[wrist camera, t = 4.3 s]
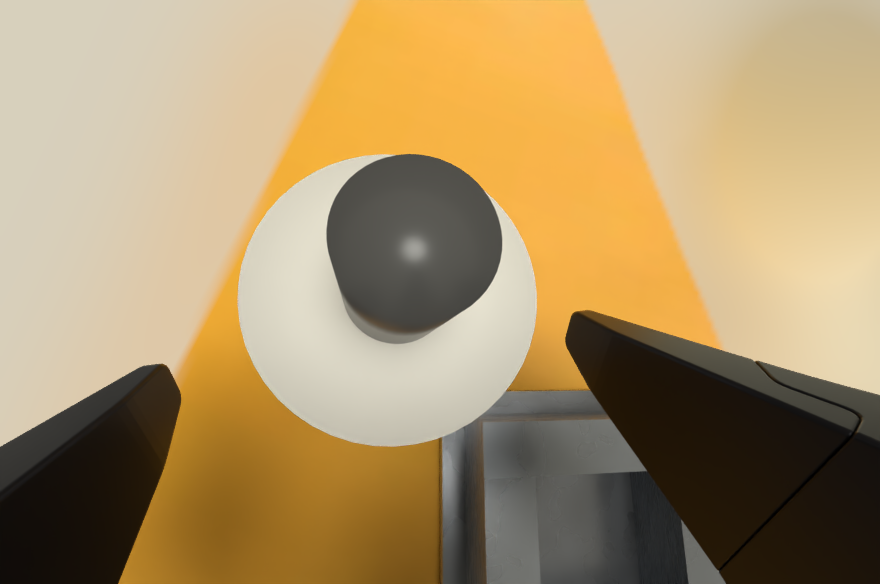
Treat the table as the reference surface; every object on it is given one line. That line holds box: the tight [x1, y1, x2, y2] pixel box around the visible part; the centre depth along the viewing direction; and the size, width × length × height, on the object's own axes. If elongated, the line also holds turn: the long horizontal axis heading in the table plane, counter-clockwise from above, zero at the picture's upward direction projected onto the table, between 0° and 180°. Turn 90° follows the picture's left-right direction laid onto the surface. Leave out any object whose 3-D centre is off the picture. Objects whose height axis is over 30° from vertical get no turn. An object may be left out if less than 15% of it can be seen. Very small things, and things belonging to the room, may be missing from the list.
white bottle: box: [238, 154, 537, 447], centre depth 11 cm, size 5×5×15 cm
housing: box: [440, 390, 726, 584], centre depth 17 cm, size 12×12×4 cm
